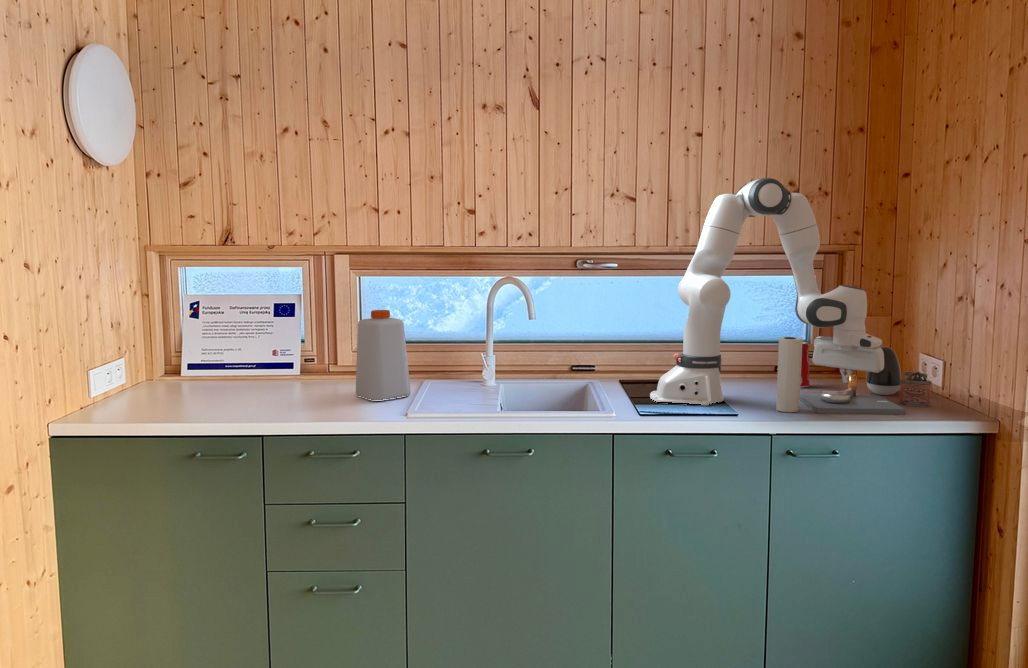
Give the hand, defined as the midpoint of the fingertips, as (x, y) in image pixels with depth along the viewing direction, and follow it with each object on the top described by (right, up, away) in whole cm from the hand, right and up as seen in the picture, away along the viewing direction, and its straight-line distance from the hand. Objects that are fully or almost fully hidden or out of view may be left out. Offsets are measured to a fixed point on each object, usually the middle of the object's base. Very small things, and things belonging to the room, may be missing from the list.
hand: (845, 383), depth 220 cm
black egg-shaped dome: (+16, -4, +9) cm, 19 cm away
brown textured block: (+17, -6, -6) cm, 20 cm away
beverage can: (-6, -3, +21) cm, 22 cm away
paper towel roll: (-22, -7, -12) cm, 26 cm away
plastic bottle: (-145, -5, +12) cm, 145 cm away
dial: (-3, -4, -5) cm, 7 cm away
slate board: (-3, -6, -8) cm, 10 cm away
